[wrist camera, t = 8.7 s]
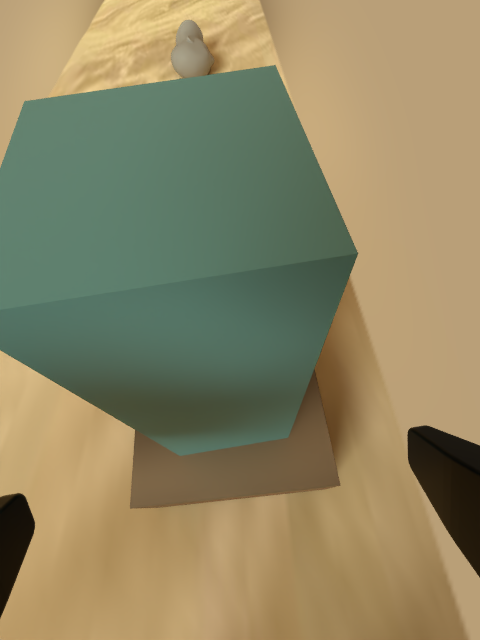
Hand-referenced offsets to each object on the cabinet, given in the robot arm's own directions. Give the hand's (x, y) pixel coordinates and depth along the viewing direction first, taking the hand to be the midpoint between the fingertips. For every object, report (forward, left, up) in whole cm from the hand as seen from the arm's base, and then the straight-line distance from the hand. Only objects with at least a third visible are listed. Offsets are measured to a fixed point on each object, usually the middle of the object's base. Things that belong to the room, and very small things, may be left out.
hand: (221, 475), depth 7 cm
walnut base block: (+4, +2, -11) cm, 12 cm away
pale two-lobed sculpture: (+42, +24, -12) cm, 50 cm away
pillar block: (+4, +2, -7) cm, 8 cm away
